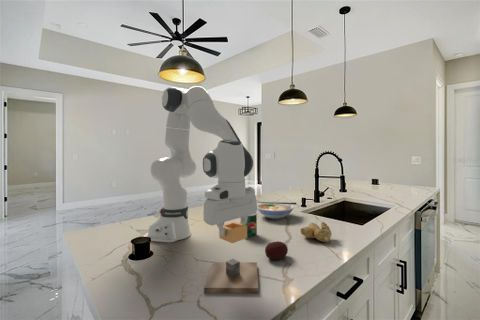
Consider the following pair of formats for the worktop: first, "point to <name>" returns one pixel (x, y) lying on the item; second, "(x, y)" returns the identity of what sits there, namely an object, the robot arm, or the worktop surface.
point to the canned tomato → (251, 226)
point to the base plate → (232, 277)
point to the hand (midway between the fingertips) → (233, 232)
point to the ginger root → (317, 232)
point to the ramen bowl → (275, 209)
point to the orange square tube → (234, 232)
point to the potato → (276, 250)
